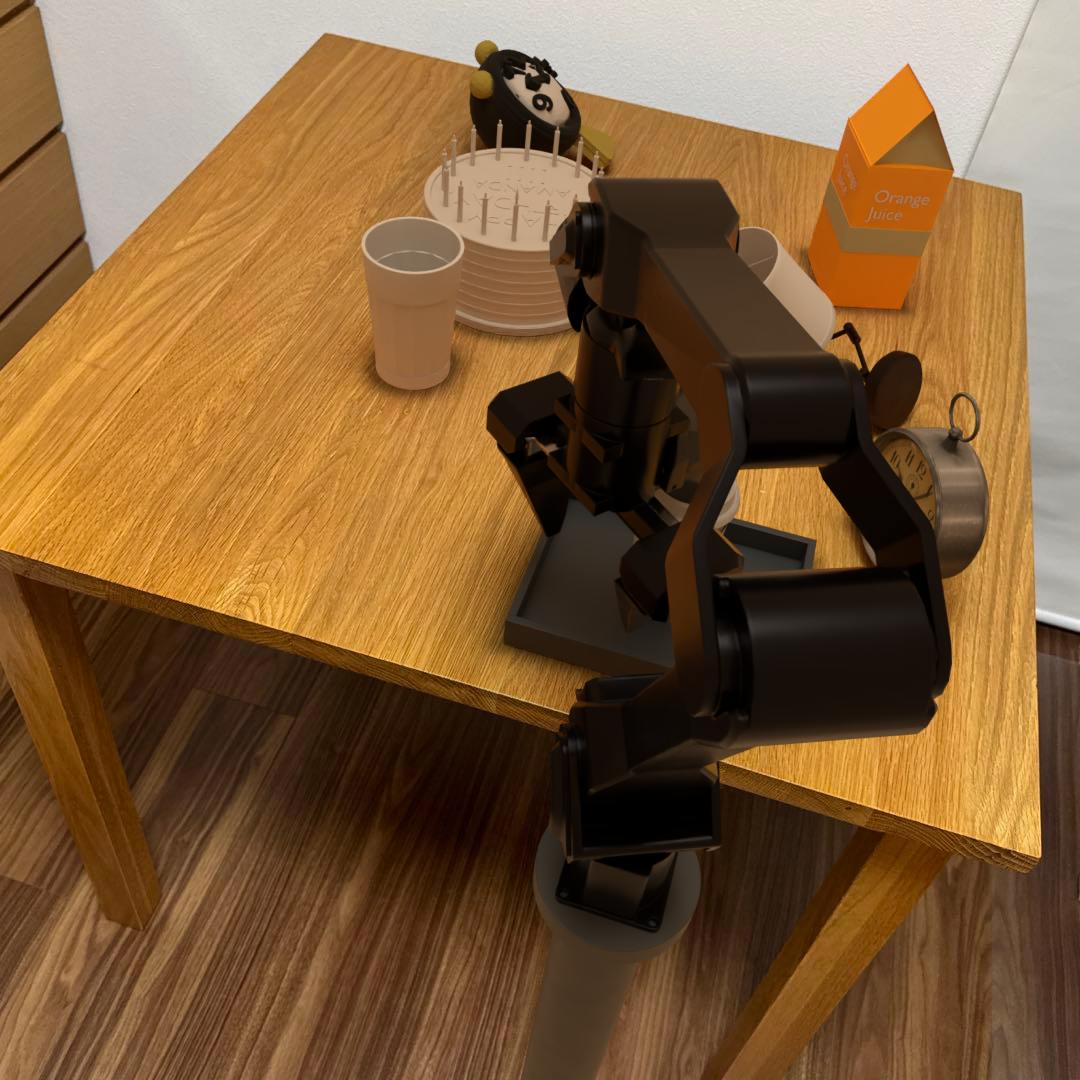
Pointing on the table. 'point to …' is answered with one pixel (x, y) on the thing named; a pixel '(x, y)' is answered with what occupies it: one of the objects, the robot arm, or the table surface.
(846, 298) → the orange juice
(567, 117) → the alarm clock
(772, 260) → the light fixture
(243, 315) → the table surface
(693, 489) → the cup
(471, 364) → the table surface
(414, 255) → the cup
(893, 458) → the alarm clock
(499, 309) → the cake
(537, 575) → the tray
